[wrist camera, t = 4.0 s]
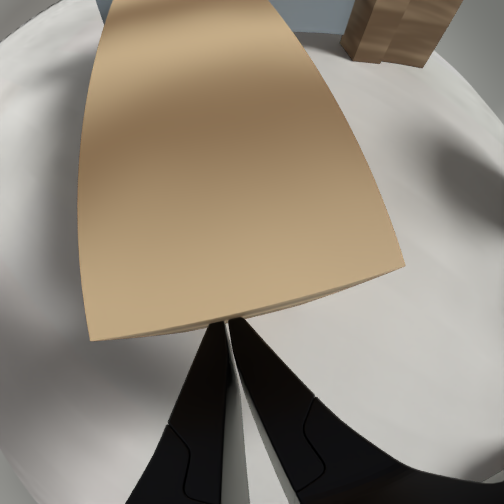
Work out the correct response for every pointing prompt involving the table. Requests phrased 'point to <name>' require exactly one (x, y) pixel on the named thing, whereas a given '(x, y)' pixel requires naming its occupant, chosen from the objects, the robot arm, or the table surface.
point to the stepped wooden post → (397, 30)
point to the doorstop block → (216, 173)
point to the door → (297, 14)
